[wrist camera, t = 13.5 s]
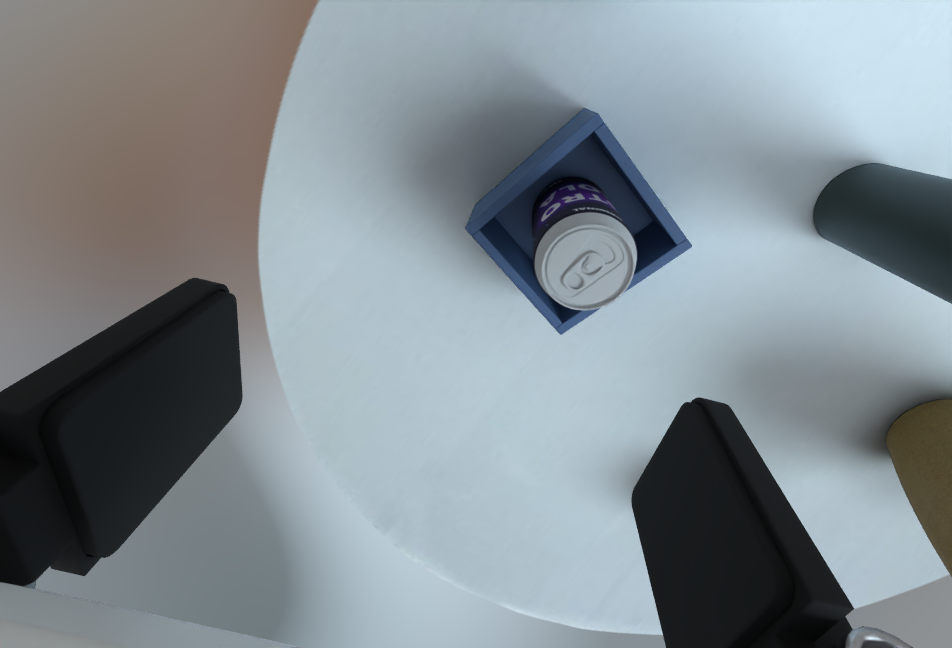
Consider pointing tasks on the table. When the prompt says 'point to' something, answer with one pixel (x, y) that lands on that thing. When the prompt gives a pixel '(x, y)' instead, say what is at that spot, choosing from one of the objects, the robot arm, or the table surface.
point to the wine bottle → (893, 222)
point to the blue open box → (565, 155)
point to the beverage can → (581, 245)
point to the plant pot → (927, 469)
